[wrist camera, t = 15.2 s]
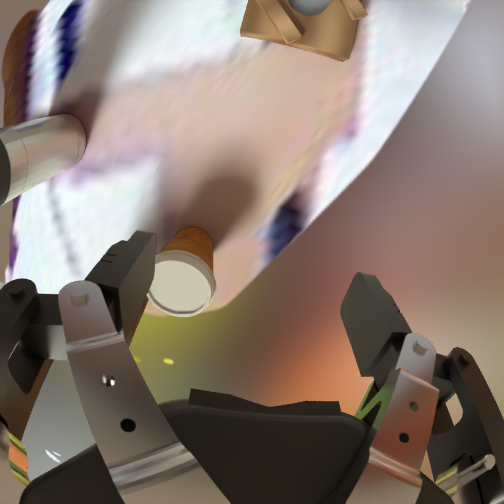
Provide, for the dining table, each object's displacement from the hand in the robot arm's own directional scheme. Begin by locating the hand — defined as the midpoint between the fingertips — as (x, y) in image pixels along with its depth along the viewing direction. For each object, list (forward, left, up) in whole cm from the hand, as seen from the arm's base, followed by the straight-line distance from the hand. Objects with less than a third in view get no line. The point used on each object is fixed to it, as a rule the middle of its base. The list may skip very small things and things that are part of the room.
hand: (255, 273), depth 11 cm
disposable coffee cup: (-6, -16, -30) cm, 35 cm away
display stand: (+2, +23, -30) cm, 38 cm away
